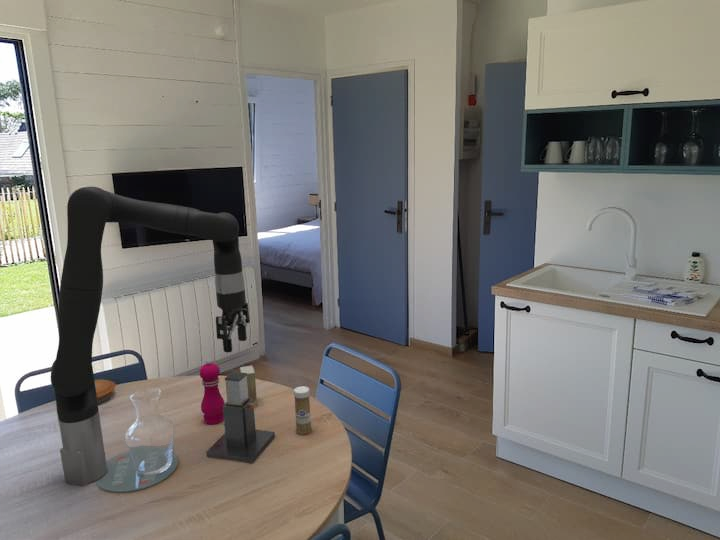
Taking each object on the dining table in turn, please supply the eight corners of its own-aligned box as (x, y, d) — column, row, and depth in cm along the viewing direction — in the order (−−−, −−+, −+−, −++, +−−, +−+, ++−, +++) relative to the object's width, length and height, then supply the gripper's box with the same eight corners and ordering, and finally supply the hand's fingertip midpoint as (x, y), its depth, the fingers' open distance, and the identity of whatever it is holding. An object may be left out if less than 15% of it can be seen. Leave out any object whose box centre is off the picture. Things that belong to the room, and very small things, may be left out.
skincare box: (242, 400, 181) (239, 366, 178) (255, 398, 182) (252, 364, 180) (244, 409, 175) (241, 374, 172) (257, 407, 176) (255, 372, 174)
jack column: (244, 446, 151) (239, 379, 146) (230, 444, 152) (224, 378, 147) (252, 438, 155) (246, 373, 150) (238, 436, 156) (232, 371, 151)
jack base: (252, 463, 145) (249, 417, 142) (206, 456, 149) (202, 411, 146) (275, 436, 158) (272, 393, 155) (232, 430, 162) (228, 389, 159)
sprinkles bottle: (297, 436, 158) (295, 393, 155) (294, 428, 162) (292, 387, 159) (313, 433, 159) (310, 391, 156) (309, 425, 164) (307, 384, 161)
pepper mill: (212, 427, 164) (206, 366, 160) (197, 420, 169) (191, 360, 164) (231, 417, 170) (225, 358, 165) (216, 411, 174) (210, 353, 170)
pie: (126, 392, 191) (125, 378, 190) (93, 412, 176) (91, 398, 175) (91, 387, 195) (89, 374, 194) (56, 406, 181) (53, 393, 180)
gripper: (230, 281, 152) (235, 336, 155) (203, 295, 138) (209, 355, 142) (254, 282, 150) (259, 337, 153) (230, 296, 136) (236, 356, 140)
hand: (235, 346), depth 148 cm, fingers open, 8 cm apart
